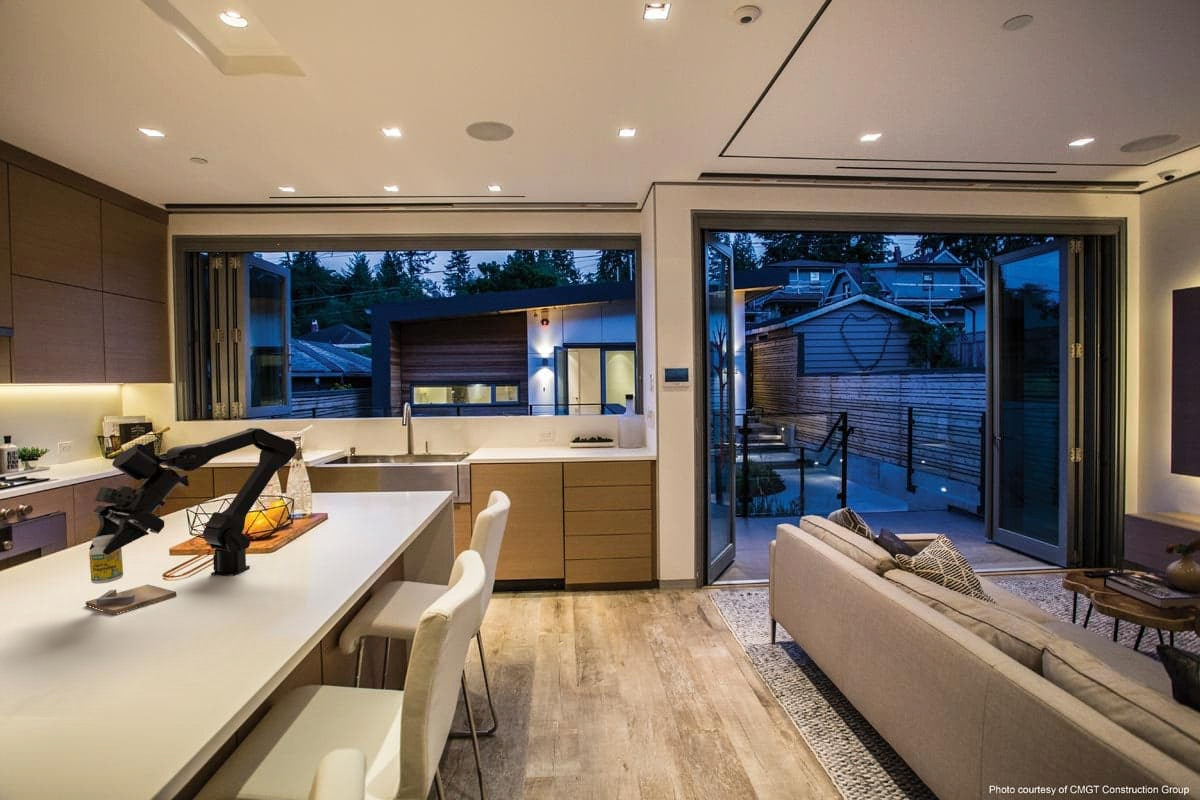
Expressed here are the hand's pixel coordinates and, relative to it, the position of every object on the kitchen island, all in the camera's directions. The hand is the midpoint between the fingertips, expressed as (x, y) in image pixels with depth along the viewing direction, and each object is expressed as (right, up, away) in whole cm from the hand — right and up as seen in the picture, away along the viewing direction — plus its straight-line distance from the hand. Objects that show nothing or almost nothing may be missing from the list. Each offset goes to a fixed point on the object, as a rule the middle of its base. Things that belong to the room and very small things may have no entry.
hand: (98, 552), depth 123 cm
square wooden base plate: (+3, -13, +6) cm, 14 cm away
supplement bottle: (+1, -7, +2) cm, 7 cm away
